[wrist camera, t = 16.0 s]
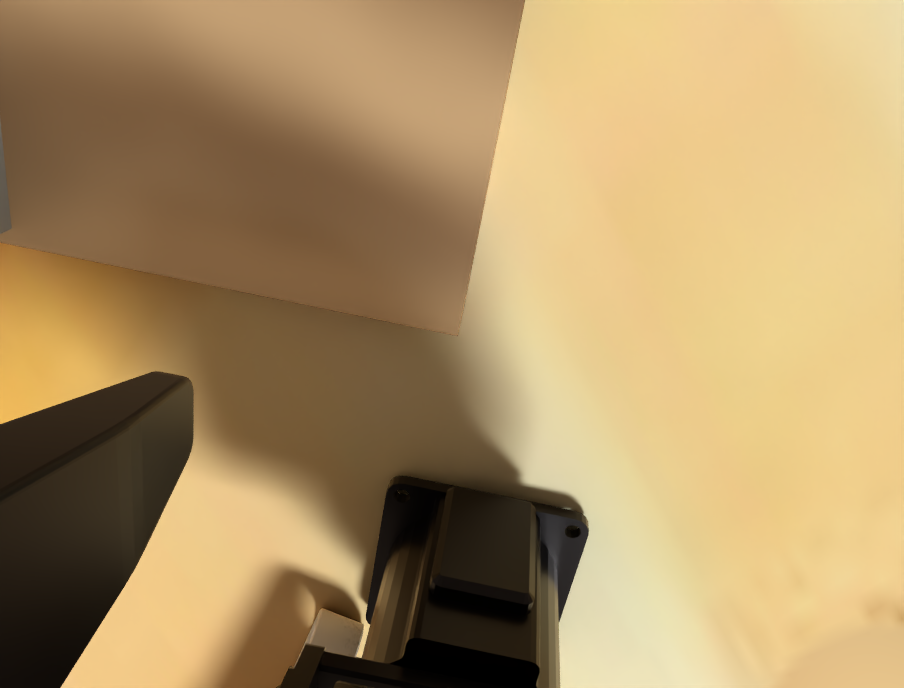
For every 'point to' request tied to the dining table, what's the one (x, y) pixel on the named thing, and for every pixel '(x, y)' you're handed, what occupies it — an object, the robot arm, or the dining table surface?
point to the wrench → (335, 633)
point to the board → (261, 143)
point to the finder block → (3, 193)
